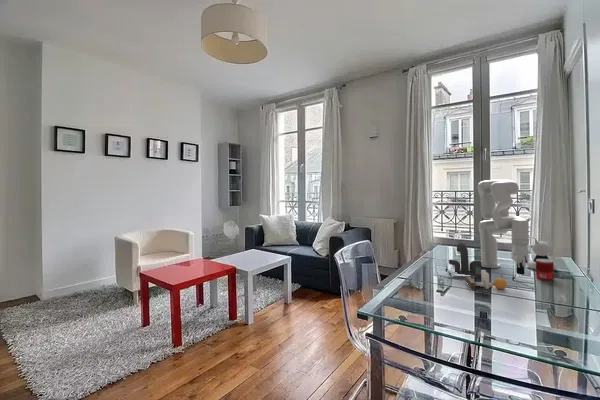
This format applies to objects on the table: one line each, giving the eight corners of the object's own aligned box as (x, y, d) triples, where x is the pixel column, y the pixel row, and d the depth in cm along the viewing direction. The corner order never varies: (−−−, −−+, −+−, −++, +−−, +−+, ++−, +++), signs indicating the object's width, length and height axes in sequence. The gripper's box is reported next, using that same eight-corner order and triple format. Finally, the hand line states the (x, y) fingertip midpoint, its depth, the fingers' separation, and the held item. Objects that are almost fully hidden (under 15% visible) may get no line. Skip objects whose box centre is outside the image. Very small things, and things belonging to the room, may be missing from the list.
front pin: (491, 285, 166) (474, 285, 169) (491, 282, 166) (474, 281, 168) (492, 288, 164) (475, 287, 167) (492, 284, 163) (475, 283, 166)
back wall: (465, 282, 174) (465, 275, 174) (469, 282, 174) (469, 276, 173) (471, 289, 163) (471, 282, 163) (475, 289, 162) (475, 282, 162)
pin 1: (481, 284, 170) (480, 269, 170) (485, 284, 169) (485, 269, 169) (482, 285, 168) (481, 271, 167) (487, 285, 167) (486, 271, 167)
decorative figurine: (542, 264, 198) (541, 235, 197) (562, 270, 183) (562, 239, 182) (521, 266, 197) (520, 236, 196) (539, 272, 182) (539, 241, 181)
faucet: (475, 269, 197) (474, 240, 196) (483, 277, 182) (482, 245, 181) (445, 269, 202) (444, 240, 201) (451, 276, 186) (449, 245, 185)
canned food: (557, 280, 167) (556, 261, 167) (541, 280, 169) (540, 262, 168) (548, 276, 175) (548, 258, 174) (533, 276, 177) (532, 258, 176)
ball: (494, 275, 162) (504, 276, 162) (490, 283, 165) (500, 284, 165) (500, 283, 157) (511, 283, 157) (495, 291, 160) (506, 292, 160)
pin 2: (483, 287, 165) (483, 272, 165) (488, 287, 164) (488, 272, 164) (485, 288, 163) (484, 273, 162) (490, 289, 162) (489, 273, 162)
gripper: (506, 238, 168) (507, 269, 170) (517, 244, 154) (518, 278, 155) (522, 238, 166) (522, 269, 168) (534, 244, 152) (535, 279, 153)
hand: (520, 273), depth 161 cm, fingers closed
